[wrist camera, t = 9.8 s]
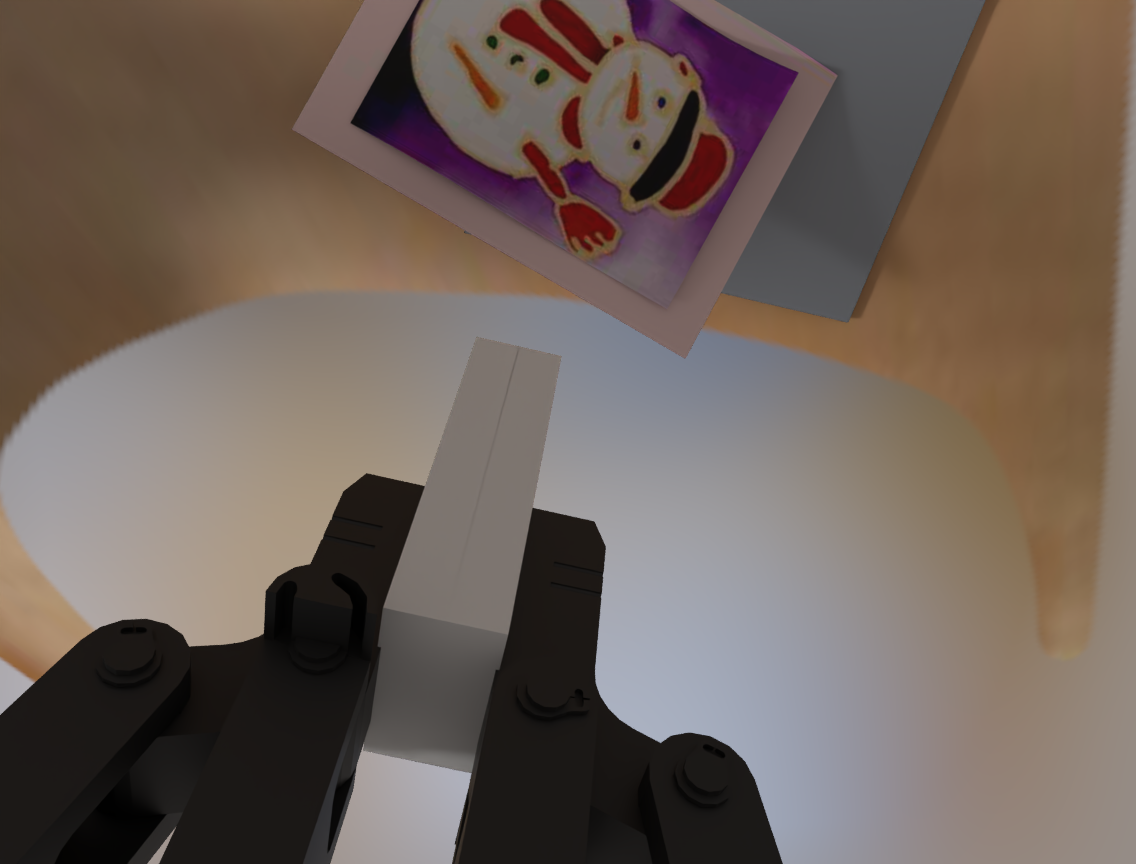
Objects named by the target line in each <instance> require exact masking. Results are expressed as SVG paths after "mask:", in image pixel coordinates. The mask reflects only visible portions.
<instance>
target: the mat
mask: <svg viewBox="0 0 1136 864" xmlns="http://www.w3.org/2000/svg"><path fill="white" fill-rule="evenodd" d="M715 1H717V2H718V3H720V4H722V5H724V6H725V7H727V8H729V9H730V10H732V11H734V12H736V13H737V14H739V15H741V16H742V17H744V18H746V19H748V20H749V21H751V22H753V23H755V24H756V25H758V26H760V27H761V28H763V29H765V30H767V31H768V32H770V33H772V34H774V35H775V36H777V37H779V38H780V39H782V40H784V41H786V42H787V43H789V44H791V45H793V46H794V47H796V48H798V49H799V50H801V51H802V52H804V53H805V54H807V55H808V56H810V57H811V58H813V59H814V60H816V61H817V62H819V63H820V64H822V65H823V66H825V67H826V68H828V69H829V70H831V71H832V72H834V73H835V74H837V75H838V76H837V78H836V80H835V81H834V83H833V85H832V87H831V89H830V91H829V93H828V94H827V96H826V98H825V100H824V102H823V104H822V106H821V107H820V109H819V111H818V113H817V115H816V117H815V119H814V120H813V122H812V124H811V126H810V128H809V130H808V132H807V133H806V135H805V137H804V139H803V141H802V143H801V145H800V146H799V148H798V150H797V152H796V154H795V156H794V158H793V159H792V161H791V163H790V165H789V167H788V169H787V171H786V172H785V174H784V176H783V178H782V180H781V182H780V184H779V185H778V187H777V189H776V191H775V193H774V195H773V197H772V198H771V200H770V202H769V204H768V206H767V208H766V210H765V211H764V213H763V215H762V217H761V219H760V221H759V223H758V225H757V226H756V228H755V230H754V232H753V234H752V236H751V238H750V239H749V241H748V243H747V245H746V247H745V249H744V251H743V252H742V254H741V256H740V258H739V260H738V262H737V264H736V265H735V267H734V269H733V271H732V273H731V275H730V277H729V278H728V280H727V282H726V284H725V286H724V288H723V290H722V291H721V293H724V294H728V295H732V296H736V297H741V298H745V299H749V300H754V301H758V302H762V303H766V304H771V305H775V306H779V307H783V308H788V309H792V310H796V311H801V312H805V313H809V314H813V315H818V316H822V317H826V318H831V319H835V320H839V321H843V322H849V319H850V317H851V315H852V312H853V310H854V308H855V305H856V303H857V301H858V298H859V296H860V294H861V291H862V289H863V287H864V284H865V282H866V280H867V277H868V275H869V273H870V270H871V268H872V265H873V263H874V261H875V258H876V256H877V254H878V251H879V249H880V247H881V244H882V242H883V240H884V237H885V235H886V233H887V230H888V228H889V226H890V223H891V221H892V219H893V216H894V214H895V212H896V209H897V207H898V204H899V202H900V200H901V197H902V195H903V193H904V190H905V188H906V186H907V183H908V181H909V179H910V176H911V174H912V172H913V169H914V167H915V165H916V162H917V160H918V158H919V155H920V153H921V150H922V148H923V146H924V143H925V141H926V139H927V136H928V134H929V132H930V129H931V127H932V125H933V122H934V120H935V118H936V115H937V113H938V111H939V108H940V106H941V104H942V101H943V99H944V97H945V94H946V92H947V89H948V87H949V85H950V82H951V80H952V78H953V75H954V73H955V71H956V68H957V66H958V64H959V61H960V59H961V57H962V54H963V52H964V50H965V47H966V45H967V43H968V40H969V38H970V35H971V33H972V31H973V28H974V26H975V24H976V21H977V19H978V17H979V14H980V12H981V10H982V7H983V5H984V3H985V0H715ZM464 233H467V234H470V233H469V232H467V231H464ZM471 235H472V234H471Z"/></svg>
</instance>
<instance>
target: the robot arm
mask: <svg viewBox="0 0 1136 864" xmlns="http://www.w3.org/2000/svg"><path fill="white" fill-rule="evenodd" d="M560 361H561V356H558V355H553V354H549V353H545V352H541V351H536V350H532V349H527V348H523V347H519V346H514V345H510V344H505V343H501V342H497V341H492V340H487V339H484V338H479V337H476V340H475V343H474V346H473V349H472V352H471V355H470V357H469V360H468V364H467V366H466V369H465V372H464V375H463V378H462V381H461V384H460V387H459V389H458V393H457V395H456V398H455V401H454V404H453V407H452V410H451V413H450V415H449V418H448V421H447V424H446V427H445V430H444V433H443V436H442V439H441V441H440V444H439V447H438V451H437V453H436V456H435V459H434V462H433V465H432V467H431V470H430V473H429V476H428V479H427V482H426V485H425V486H422V485H417V484H413V483H408V482H403V481H399V480H394V479H390V478H385V477H381V476H376V475H372V474H367V473H366V474H365V475H364V476H363V477H361V478H360V479H359V480H357V481H356V482H355V483H354V484H352V485H351V486H350V487H349V488H347V489H346V490H345V491H344V492H343V494H342V496H341V498H340V500H339V502H338V505H337V507H336V509H335V511H334V514H333V517H332V520H330V522H329V524H328V527H327V529H326V531H325V533H324V537H323V540H321V542H320V544H319V547H318V549H317V551H316V553H315V555H314V557H313V560H312V562H311V564H310V565H304V566H299V567H295V568H293V569H291V570H289V571H287V572H286V573H284V574H282V575H280V576H278V577H277V578H276V579H275V580H274V581H273V583H272V584H271V585H270V586H269V588H268V589H267V590H266V598H265V623H264V634H263V635H261V636H259V637H256V638H253V639H250V640H247V641H244V642H240V643H233V644H226V645H210V646H191V647H189V646H188V644H187V642H186V640H185V639H184V636H183V635H182V634H181V633H179V632H178V631H176V630H175V629H173V628H172V627H170V626H169V625H168V624H165V623H160V622H156V621H153V620H148V619H135V620H121V621H118V622H115V623H112V624H109V625H106V626H102V627H100V628H98V629H97V630H95V631H94V632H92V633H91V634H89V635H88V636H86V637H85V638H83V639H82V640H80V641H79V642H78V643H77V644H76V645H75V646H74V647H73V648H72V649H71V650H70V651H69V652H68V653H66V654H65V655H64V656H63V657H62V658H61V659H60V660H59V661H58V662H57V663H56V664H55V665H54V666H52V667H51V668H50V669H49V670H48V671H47V672H46V673H45V674H44V675H43V676H42V677H41V678H39V679H38V680H37V681H36V682H35V683H34V684H33V685H32V686H31V687H30V688H29V689H28V690H27V691H25V693H23V694H22V695H21V696H20V697H19V698H18V699H17V700H16V701H15V702H14V703H13V704H12V705H10V706H9V707H8V708H7V709H6V710H5V711H4V712H3V713H2V714H1V715H0V864H147V863H148V862H149V861H150V859H151V858H152V857H153V855H154V854H155V853H156V852H157V850H158V849H159V848H160V846H161V845H162V844H163V843H164V841H165V840H166V839H167V837H168V836H169V835H170V833H171V832H172V831H173V830H174V828H175V827H176V829H175V831H174V833H173V835H172V837H171V839H170V842H169V844H168V846H167V848H166V850H165V852H164V854H163V857H162V859H161V861H160V863H159V864H330V863H331V859H332V856H333V853H334V850H335V846H336V843H337V840H338V837H339V834H340V830H341V827H342V824H343V820H344V817H345V814H346V811H347V807H348V804H349V801H350V798H351V795H352V792H353V788H354V780H355V773H356V766H357V762H358V759H359V756H360V753H361V750H362V747H363V743H364V748H363V750H364V751H368V752H373V753H377V754H382V755H387V756H391V757H397V758H401V759H406V760H411V761H415V762H421V763H425V764H430V765H435V766H440V767H445V768H449V769H454V770H459V771H463V772H469V773H472V774H471V779H470V784H469V789H468V793H467V797H466V801H465V805H464V809H463V813H462V817H461V821H460V825H459V829H458V833H457V837H456V841H455V844H456V848H455V852H454V857H453V862H452V864H783V863H782V860H781V857H780V854H779V851H778V848H777V845H776V842H775V839H774V836H773V833H772V830H771V827H770V824H769V821H768V818H767V815H766V812H765V809H764V806H763V803H762V800H761V797H760V794H759V791H758V788H757V785H756V782H755V779H754V777H753V776H752V774H751V772H750V770H749V768H748V766H747V764H746V762H745V761H744V760H743V759H742V758H741V757H740V756H739V755H738V754H737V753H736V752H735V751H734V750H733V749H732V748H730V747H729V746H728V745H726V744H724V743H722V742H720V741H718V740H716V739H714V738H712V737H710V736H706V735H700V734H695V733H684V734H678V735H673V736H670V737H669V738H667V739H666V740H664V741H663V742H662V743H659V742H658V741H655V740H654V739H652V738H650V737H648V736H646V735H644V734H642V733H640V732H638V731H636V730H635V729H633V728H631V727H630V726H628V725H627V724H625V723H624V722H622V721H621V720H619V719H618V718H617V717H616V716H615V715H614V714H613V713H612V712H611V711H610V710H609V709H608V707H607V706H606V704H605V703H604V701H603V700H602V698H601V697H600V695H599V692H598V689H597V686H596V682H595V663H596V651H597V640H598V628H599V618H600V605H601V594H602V583H603V572H604V561H605V550H606V546H605V544H604V542H603V540H602V538H601V535H600V533H599V531H598V529H597V526H596V524H595V522H594V521H589V520H585V519H580V518H576V517H571V516H567V515H563V514H558V513H554V512H549V511H544V510H540V509H535V508H533V502H534V497H535V492H536V487H537V481H538V476H539V471H540V466H541V460H542V455H543V450H544V445H545V440H546V434H547V429H548V424H549V419H550V413H551V408H552V403H553V397H554V393H555V387H556V382H557V377H558V371H559V366H560Z"/></svg>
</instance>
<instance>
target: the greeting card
mask: <svg viewBox="0 0 1136 864" xmlns="http://www.w3.org/2000/svg"><path fill="white" fill-rule="evenodd" d="M837 76H838V75H837V74H835V73H834V72H832V71H831V70H829V69H828V68H826V67H825V66H823V65H822V64H820V63H819V62H817V61H816V60H814V59H813V58H811V57H810V56H808V55H807V54H805V53H804V52H802V51H801V50H799V49H798V48H796V47H794V46H793V45H791V44H789V43H787V42H786V41H784V40H782V39H780V38H779V37H777V36H775V35H774V34H772V33H770V32H768V31H767V30H765V29H763V28H761V27H760V26H758V25H756V24H755V23H753V22H751V21H749V20H748V19H746V18H744V17H742V16H741V15H739V14H737V13H736V12H734V11H732V10H730V9H729V8H727V7H725V6H724V5H722V4H720V3H718V2H717V1H715V0H364V2H363V4H362V6H361V7H360V9H359V11H358V13H357V14H356V16H355V18H354V20H353V22H352V23H351V25H350V27H349V29H348V30H347V32H346V34H345V36H344V38H343V39H342V41H341V43H340V45H339V46H338V48H337V50H336V52H335V53H334V55H333V57H332V59H331V61H330V62H329V64H328V66H327V68H326V69H325V71H324V73H323V75H322V77H321V78H320V80H319V82H318V84H317V85H316V87H315V89H314V91H313V93H312V94H311V96H310V98H309V100H308V101H307V103H306V105H305V107H304V108H303V110H302V112H301V114H300V116H299V117H298V119H297V121H296V123H295V124H294V126H293V128H292V130H294V131H295V132H297V133H299V134H300V135H302V136H304V137H306V138H307V139H309V140H311V141H312V142H314V143H316V144H318V145H319V146H321V147H323V148H324V149H326V150H328V151H330V152H331V153H333V154H335V155H336V156H338V157H340V158H342V159H343V160H345V161H347V162H348V163H350V164H352V165H354V166H355V167H357V168H359V169H361V170H362V171H364V172H366V173H367V174H369V175H371V176H373V177H374V178H376V179H378V180H379V181H381V182H383V183H385V184H386V185H388V186H390V187H391V188H393V189H395V190H397V191H398V192H400V193H402V194H403V195H405V196H407V197H409V198H410V199H412V200H414V201H415V202H417V203H419V204H421V205H422V206H424V207H426V208H427V209H429V210H431V211H433V212H434V213H436V214H438V215H439V216H441V217H443V218H445V219H446V220H448V221H450V222H451V223H453V224H455V225H457V226H458V227H460V228H462V229H463V230H465V231H467V232H469V233H470V234H472V235H474V236H475V237H477V238H479V239H481V240H482V241H484V242H486V243H487V244H489V245H491V246H493V247H494V248H496V249H498V250H499V251H501V252H503V253H505V254H506V255H508V256H510V257H512V258H513V259H515V260H517V261H518V262H520V263H522V264H524V265H525V266H527V267H529V268H530V269H532V270H534V271H536V272H537V273H539V274H541V275H542V276H544V277H546V278H548V279H549V280H551V281H553V282H554V283H556V284H558V285H560V286H561V287H563V288H565V289H566V290H568V291H570V292H572V293H573V294H575V295H577V296H578V297H580V298H582V299H584V300H585V301H587V302H589V303H590V304H592V305H594V306H596V307H597V308H599V309H601V310H602V311H604V312H606V313H608V314H609V315H611V316H613V317H615V318H616V319H618V320H620V321H621V322H623V323H625V324H626V325H628V326H630V327H632V328H634V329H635V330H637V331H638V332H640V333H642V334H644V335H645V336H647V337H649V338H651V339H652V340H654V341H656V342H658V343H659V344H661V345H663V346H664V347H666V348H668V349H669V350H671V351H673V352H675V353H676V354H678V355H680V356H681V357H683V358H686V356H687V355H688V353H689V351H690V349H691V347H692V345H693V343H694V341H695V340H696V338H697V336H698V334H699V332H700V330H701V329H702V327H703V325H704V323H705V321H706V319H707V317H708V316H709V314H710V312H711V310H712V308H713V306H714V304H715V303H716V301H717V299H718V297H719V295H720V293H721V291H722V290H723V288H724V286H725V284H726V282H727V280H728V278H729V277H730V275H731V273H732V271H733V269H734V267H735V265H736V264H737V262H738V260H739V258H740V256H741V254H742V252H743V251H744V249H745V247H746V245H747V243H748V241H749V239H750V238H751V236H752V234H753V232H754V230H755V228H756V226H757V225H758V223H759V221H760V219H761V217H762V215H763V213H764V211H765V210H766V208H767V206H768V204H769V202H770V200H771V198H772V197H773V195H774V193H775V191H776V189H777V187H778V185H779V184H780V182H781V180H782V178H783V176H784V174H785V172H786V171H787V169H788V167H789V165H790V163H791V161H792V159H793V158H794V156H795V154H796V152H797V150H798V148H799V146H800V145H801V143H802V141H803V139H804V137H805V135H806V133H807V132H808V130H809V128H810V126H811V124H812V122H813V120H814V119H815V117H816V115H817V113H818V111H819V109H820V107H821V106H822V104H823V102H824V100H825V98H826V96H827V94H828V93H829V91H830V89H831V87H832V85H833V83H834V81H835V80H836V78H837Z"/></svg>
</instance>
